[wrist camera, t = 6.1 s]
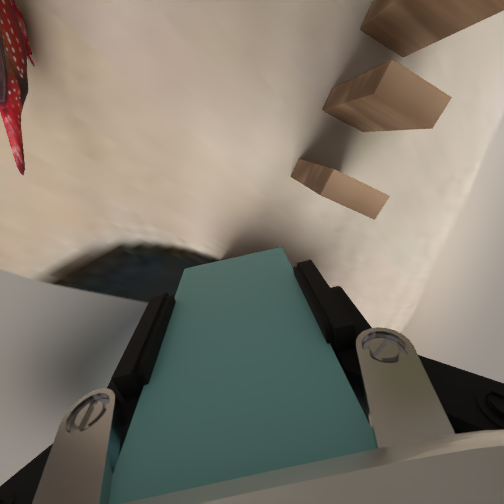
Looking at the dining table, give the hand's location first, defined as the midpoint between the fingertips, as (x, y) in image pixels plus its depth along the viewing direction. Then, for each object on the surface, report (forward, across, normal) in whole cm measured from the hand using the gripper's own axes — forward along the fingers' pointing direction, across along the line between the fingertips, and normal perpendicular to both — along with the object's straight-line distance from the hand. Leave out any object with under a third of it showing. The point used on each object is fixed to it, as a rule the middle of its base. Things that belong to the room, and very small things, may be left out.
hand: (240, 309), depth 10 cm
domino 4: (+20, -9, -1) cm, 22 cm away
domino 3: (+20, -13, -6) cm, 25 cm away
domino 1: (+3, 0, 0) cm, 3 cm away
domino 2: (+20, -18, -12) cm, 29 cm away
